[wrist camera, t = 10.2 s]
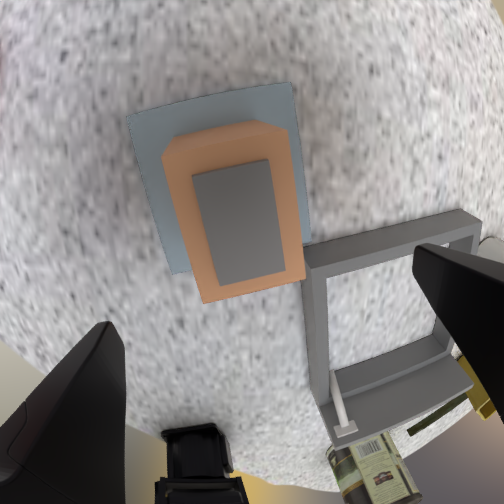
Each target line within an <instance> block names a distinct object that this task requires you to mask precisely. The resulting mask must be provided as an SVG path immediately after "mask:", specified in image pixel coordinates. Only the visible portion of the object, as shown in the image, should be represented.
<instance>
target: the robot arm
mask: <svg viewBox="0 0 504 504" xmlns="http://www.w3.org/2000/svg"><path fill="white" fill-rule="evenodd" d="M412 272H413V275H414V278H415V279H416V281H417V283H418V284H419V286H420V288H421V289H422V291H423V293H424V294H425V296H426V298H427V300H428V301H429V303H430V305H431V307H432V308H433V310H434V312H435V313H436V315H437V316H438V318H439V319H440V321H441V322H442V324H443V325H444V327H445V328H446V329H447V331H448V332H449V334H450V335H451V337H452V338H453V340H454V341H455V343H456V344H457V346H458V347H459V349H460V350H461V352H462V354H463V355H464V357H465V358H466V360H467V361H468V363H469V365H470V366H471V368H472V369H473V371H474V373H475V374H476V376H477V378H478V379H479V381H480V383H481V384H482V386H483V388H484V389H485V391H486V393H487V394H488V396H489V398H490V400H491V401H492V403H493V405H494V407H495V409H496V410H497V412H498V414H499V416H501V417H500V418H501V420H502V422H503V424H504V263H500V262H497V261H494V260H490V259H487V258H483V257H479V256H476V255H472V254H469V253H465V252H461V251H458V250H454V249H450V248H446V247H442V246H439V245H435V244H431V243H423V244H420V245H417V246H416V247H415V249H414V256H413V266H412ZM125 415H126V374H125V348H124V344H123V341H122V340H121V338H120V336H119V334H118V332H117V330H116V328H115V327H114V325H113V323H112V322H110V321H105V322H100V323H97V324H96V325H95V326H94V327H93V328H92V329H91V330H90V331H89V332H88V333H87V334H86V335H85V336H84V337H83V338H82V339H81V340H80V341H79V342H78V343H77V344H76V345H75V346H74V347H73V348H72V350H71V351H70V352H69V353H68V354H67V355H66V356H65V357H64V358H63V359H62V360H61V361H60V362H59V363H58V364H57V365H56V366H55V368H54V369H53V370H52V371H51V372H50V373H49V374H48V375H47V376H46V377H45V378H44V379H43V381H42V382H41V383H40V384H39V385H38V386H37V387H36V388H35V389H34V390H33V392H32V393H31V394H30V395H29V396H28V397H27V398H26V402H25V401H24V402H23V403H22V404H21V405H20V406H19V407H18V408H17V410H16V411H15V412H14V413H13V414H12V415H11V416H10V417H9V418H8V420H7V421H6V422H5V423H4V424H3V425H2V426H1V427H0V504H126V503H125V467H124V465H125V464H124V462H125V460H124V459H125V458H124V457H125V450H124V449H125ZM161 437H162V438H163V439H164V440H165V442H166V443H167V471H168V472H167V474H168V478H165V477H160V481H157V482H155V504H249V502H248V498H247V495H246V492H245V488H244V485H243V482H242V479H241V477H236V478H230V477H229V473H233V471H234V469H233V463H232V458H231V451H230V445H229V443H228V441H227V439H226V437H225V436H224V435H223V434H222V435H221V433H220V431H219V429H218V428H217V426H216V425H215V424H209V425H204V426H197V427H191V428H184V429H177V430H170V431H163V432H161Z"/></svg>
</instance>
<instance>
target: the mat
mask: <svg viewBox="0 0 504 504" xmlns="http://www.w3.org/2000/svg"><path fill="white" fill-rule="evenodd" d="M250 120H258V121H261V122H265V123H268V124H271V125H274V126H277V127H280V128H283V129H286V130H287V131H288V137H289V144H290V151H291V158H292V165H293V172H294V179H295V187H296V194H297V202H298V210H299V219H300V227H301V236H302V244H305V243H309V242H312V240H311V229H310V220H309V210H308V201H307V192H306V184H305V176H304V168H303V160H302V152H301V145H300V138H299V131H298V124H297V117H296V111H295V104H294V98H293V92H292V86H291V82H287V83H279V84H271V85H264V86H257V87H251V88H245V89H239V90H233V91H228V92H222V93H217V94H212V95H208V96H203V97H198V98H194V99H190V100H185V101H181V102H177V103H173V104H169V105H165V106H162V107H158V108H154V109H151V110H147V111H144V112H140V113H137V114H133V115H130V116H127V121H128V126H129V130H130V134H131V138H132V142H133V146H134V150H135V153H136V157H137V161H138V165H139V169H140V172H141V176H142V179H143V183H144V186H145V190H146V193H147V197H148V200H149V204H150V207H151V210H152V214H153V217H154V220H155V223H156V227H157V230H158V233H159V236H160V239H161V242H162V246H163V249H164V252H165V255H166V258H167V261H168V264H169V267H170V270H171V272H172V275H173V274H178V273H182V272H186V271H190V270H192V267H191V264H190V260H189V257H188V254H187V250H186V247H185V244H184V240H183V237H182V233H181V230H180V226H179V223H178V219H177V216H176V212H175V209H174V205H173V201H172V198H171V194H170V190H169V187H168V183H167V179H166V175H165V171H164V167H163V163H162V160H161V156H162V154H163V153H164V151H165V149H166V148H167V146H168V145H169V143H170V141H171V140H172V138H173V137H177V136H181V135H185V134H189V133H193V132H197V131H202V130H206V129H210V128H215V127H220V126H225V125H229V124H234V123H240V122H245V121H250Z"/></svg>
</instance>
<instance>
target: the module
mask: <svg viewBox="0 0 504 504" xmlns="http://www.w3.org/2000/svg"><path fill="white" fill-rule="evenodd" d="M161 160H162V163H163V167H164V171H165V175H166V179H167V183H168V187H169V190H170V194H171V198H172V201H173V205H174V209H175V212H176V216H177V219H178V223H179V226H180V230H181V233H182V237H183V240H184V244H185V247H186V250H187V254H188V257H189V260H190V264H191V267H192V270H193V273H194V276H195V280H196V283H197V286H198V289H199V292H200V295H201V299H202V302H203V304H206V303H210V302H214V301H219V300H223V299H227V298H231V297H236V296H240V295H244V294H248V293H252V292H256V291H260V290H265V289H269V288H273V287H277V286H281V285H285V284H289V283H292V282H296V281H300V280H304V279H306V273H305V263H304V254H303V245H302V236H301V227H300V219H299V210H298V202H297V194H296V187H295V179H294V172H293V165H292V158H291V151H290V144H289V137H288V131H287V130H286V129H283V128H280V127H277V126H274V125H271V124H268V123H265V122H261V121H258V120H250V121H245V122H240V123H234V124H229V125H225V126H220V127H215V128H210V129H206V130H202V131H197V132H193V133H189V134H185V135H181V136H177V137H173V138H172V140H171V141H170V143H169V145H168V146H167V148H166V149H165V151H164V153H163V154H162V156H161Z"/></svg>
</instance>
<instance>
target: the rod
mask: <svg viewBox="0 0 504 504" xmlns="http://www.w3.org/2000/svg"><path fill="white" fill-rule="evenodd" d="M467 398H468V397H467V395H466V393H465V392H464V393H463V394H461V395H459V396H457V397H456V398H454V399H452V400H451V401H449V402H448V403H447V404H445V405H444V406H442V407H441V408H440V409H438V410H437V411H435V412H434V413H432V414H431V415H429V416H428V417H426V418H425V419H423V420H422V421H420V422H419V423H417V424H416V425H414V426H412V427H411V428H409V429H407V432H408V433H409V435H410V437H411V436H413V435H414V434H416V433H418V432H419V431H421V430H423V429H425V428H426V427H427V426H429V425H430V424H432V423H433V422H435V421H436V420H438V419H439V418H441V417H442V416H444V415H445V414H447V413H448V412H449V411H451V410H452V409H454V408H455V407H456V406H458V405H459V404H460V403H462V402H463V401H464V400H466V399H467Z"/></svg>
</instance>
